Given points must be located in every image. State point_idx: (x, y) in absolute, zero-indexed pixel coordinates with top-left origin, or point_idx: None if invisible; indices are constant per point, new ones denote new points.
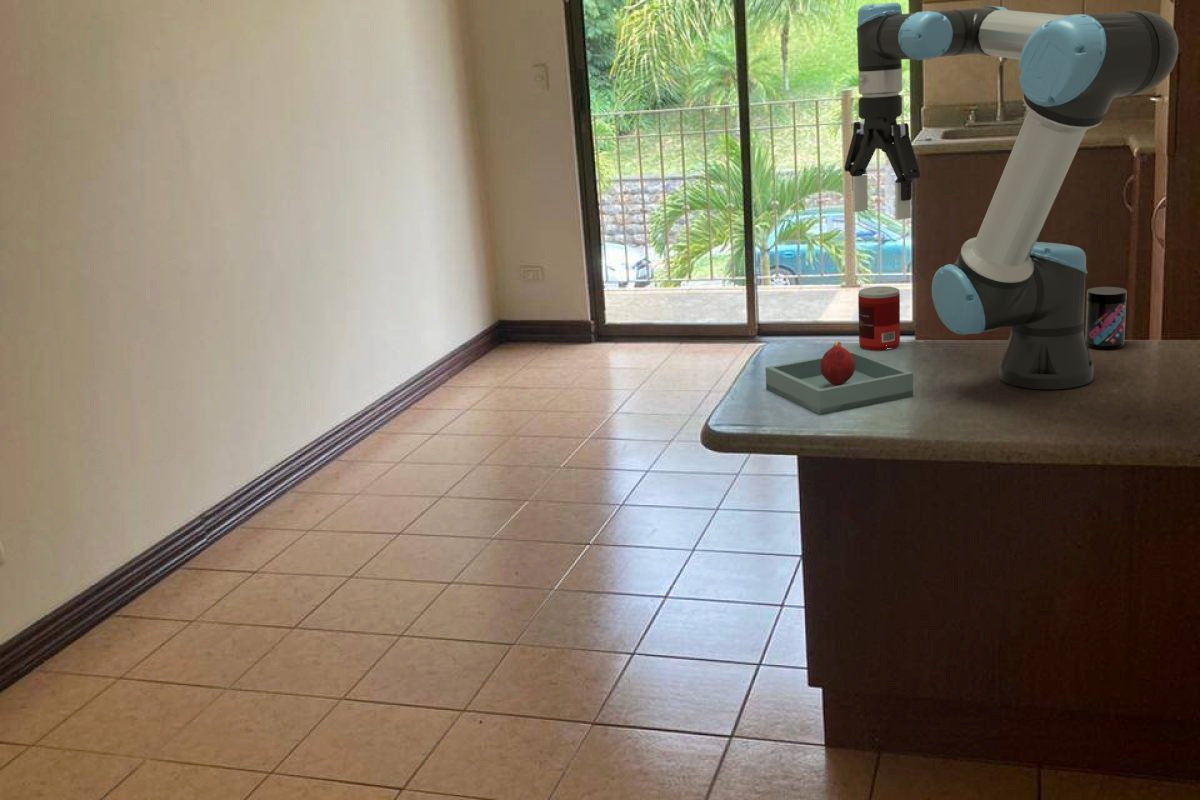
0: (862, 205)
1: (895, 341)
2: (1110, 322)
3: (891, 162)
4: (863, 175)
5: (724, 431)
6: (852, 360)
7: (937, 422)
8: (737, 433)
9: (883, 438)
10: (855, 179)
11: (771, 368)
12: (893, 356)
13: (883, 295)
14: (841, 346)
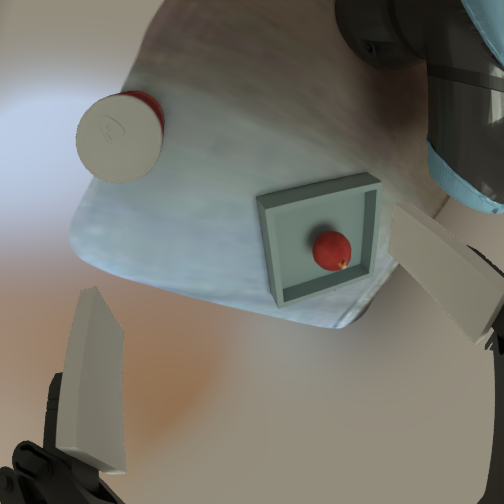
0: (105, 324)
1: (158, 104)
2: None
3: (501, 426)
4: (83, 455)
5: (349, 322)
6: (348, 242)
7: (422, 186)
8: (357, 316)
9: None
10: (123, 459)
11: (285, 304)
12: (202, 121)
13: (161, 141)
14: (345, 259)
